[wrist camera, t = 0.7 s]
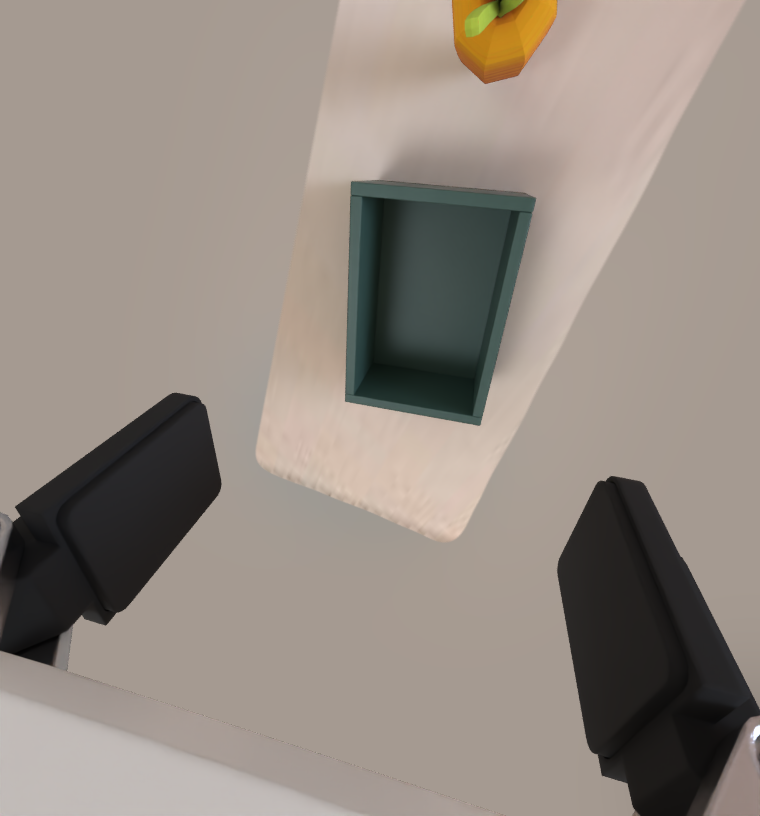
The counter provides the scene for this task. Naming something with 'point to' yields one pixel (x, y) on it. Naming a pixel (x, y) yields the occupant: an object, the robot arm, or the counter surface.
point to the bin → (430, 294)
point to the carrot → (500, 34)
